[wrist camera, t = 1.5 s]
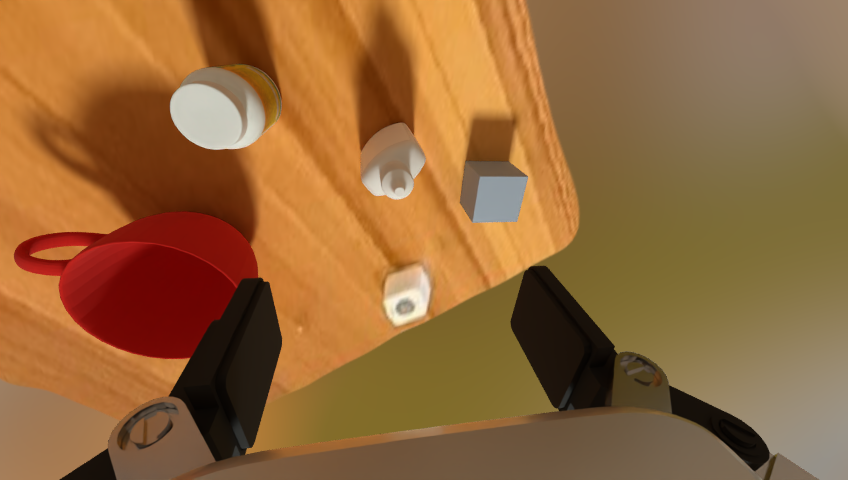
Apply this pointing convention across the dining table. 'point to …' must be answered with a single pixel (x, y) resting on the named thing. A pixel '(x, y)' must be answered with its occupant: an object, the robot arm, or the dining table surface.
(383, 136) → the eye dropper bottle
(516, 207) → the slate block
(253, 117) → the supplement bottle
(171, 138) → the dining table surface
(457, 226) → the dining table surface
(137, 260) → the ceramic cup
